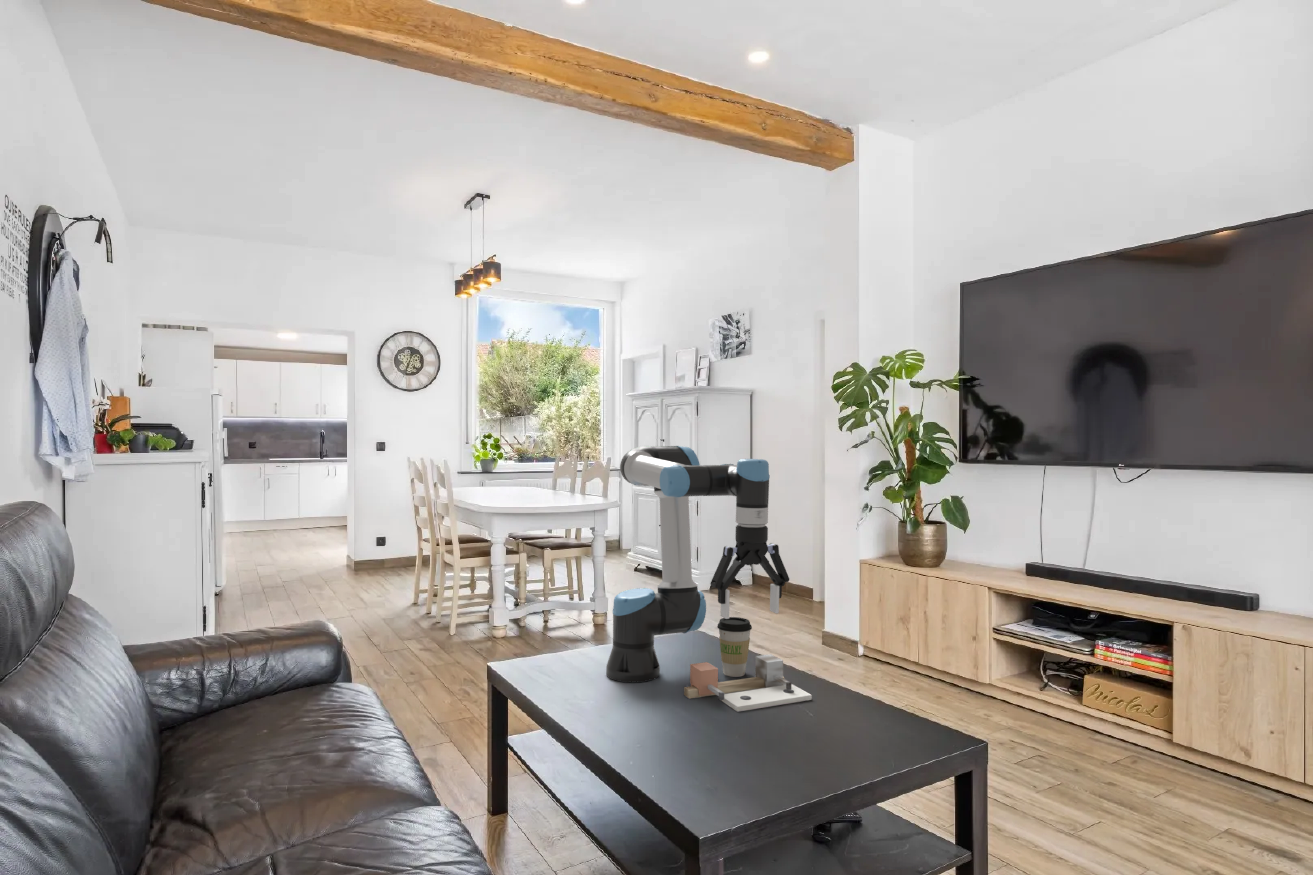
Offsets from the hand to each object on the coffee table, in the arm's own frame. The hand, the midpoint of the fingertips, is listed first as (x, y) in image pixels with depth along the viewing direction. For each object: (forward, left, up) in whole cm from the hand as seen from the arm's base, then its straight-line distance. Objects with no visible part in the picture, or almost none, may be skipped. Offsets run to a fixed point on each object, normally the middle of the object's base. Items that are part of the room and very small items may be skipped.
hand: (749, 614), depth 176 cm
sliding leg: (-18, -1, -25) cm, 31 cm away
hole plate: (-12, +12, -26) cm, 31 cm away
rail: (-18, +9, -26) cm, 33 cm away
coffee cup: (-34, +15, -26) cm, 45 cm away
